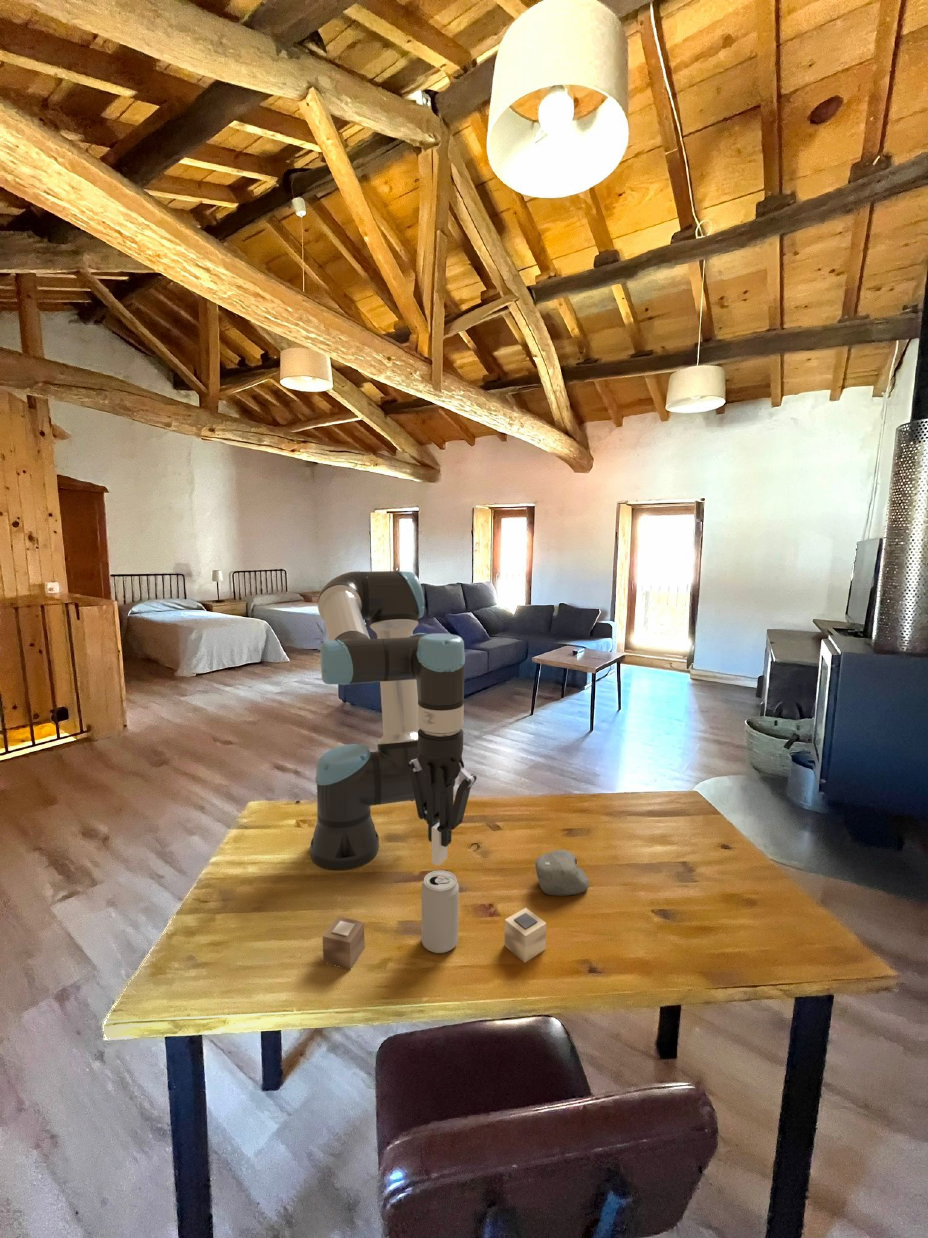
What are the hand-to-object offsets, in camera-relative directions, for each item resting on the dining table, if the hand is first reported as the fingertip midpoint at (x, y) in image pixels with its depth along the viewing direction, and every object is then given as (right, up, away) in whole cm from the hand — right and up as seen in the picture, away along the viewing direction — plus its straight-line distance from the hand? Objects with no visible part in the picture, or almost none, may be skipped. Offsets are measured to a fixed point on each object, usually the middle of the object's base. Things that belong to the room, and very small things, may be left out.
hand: (439, 860), depth 92 cm
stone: (+24, -13, +18) cm, 33 cm away
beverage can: (0, -15, +2) cm, 16 cm away
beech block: (+15, -16, +1) cm, 21 cm away
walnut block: (-16, -16, -1) cm, 22 cm away
